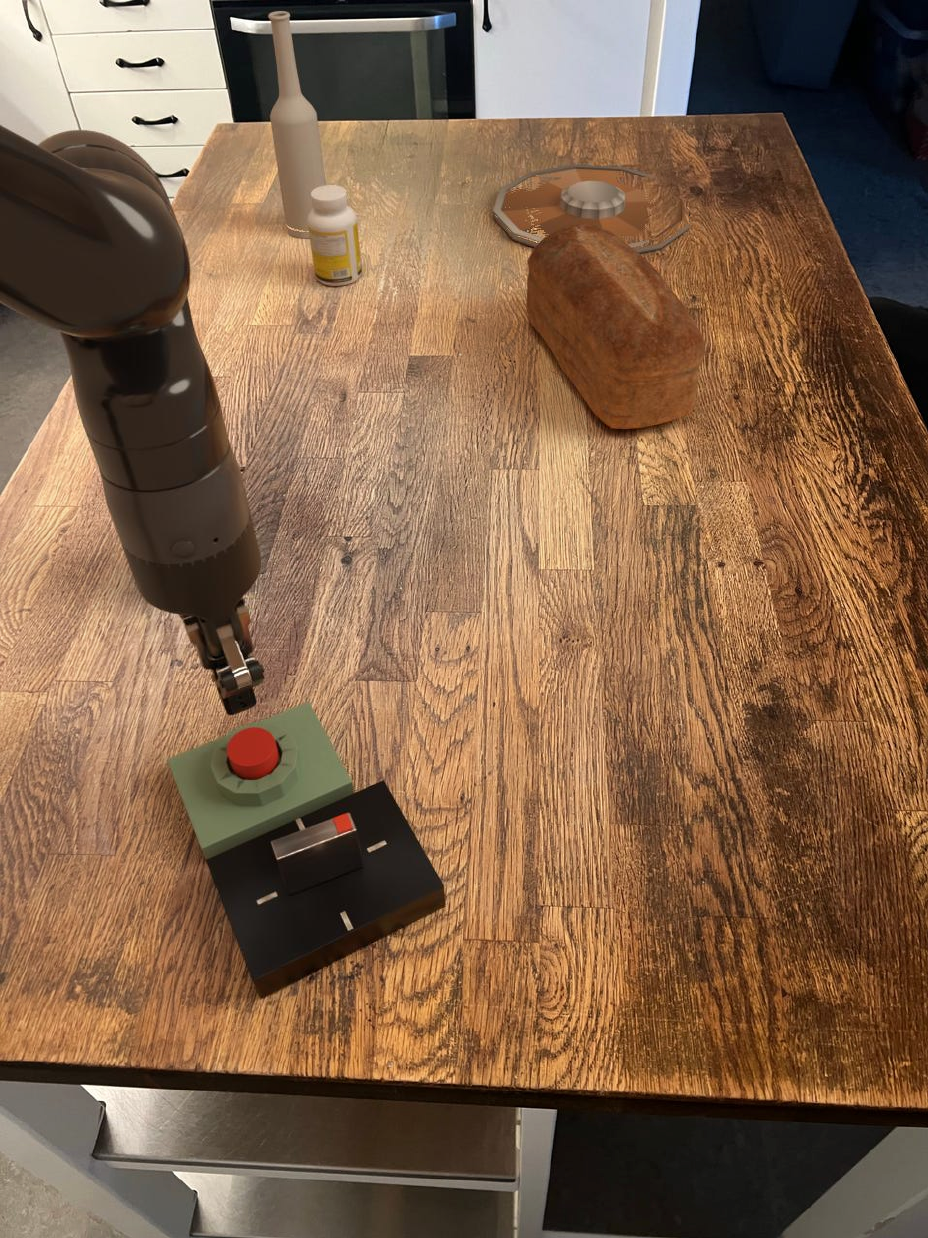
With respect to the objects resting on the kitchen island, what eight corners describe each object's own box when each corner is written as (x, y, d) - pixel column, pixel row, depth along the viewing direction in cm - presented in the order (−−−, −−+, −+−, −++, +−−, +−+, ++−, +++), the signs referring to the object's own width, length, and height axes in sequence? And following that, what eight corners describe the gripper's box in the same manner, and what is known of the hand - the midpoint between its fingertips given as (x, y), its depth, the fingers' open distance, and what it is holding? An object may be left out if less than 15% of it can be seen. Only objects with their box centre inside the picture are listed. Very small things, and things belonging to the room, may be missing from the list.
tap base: (260, 1000, 64) (252, 980, 62) (214, 880, 70) (204, 858, 68) (445, 906, 69) (444, 885, 66) (386, 801, 75) (383, 778, 73)
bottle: (278, 228, 144) (243, 13, 123) (313, 214, 147) (285, 3, 126) (304, 242, 140) (272, 24, 120) (340, 228, 143) (315, 13, 123)
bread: (606, 449, 105) (618, 338, 95) (514, 312, 125) (516, 210, 115) (707, 428, 107) (729, 318, 97) (600, 297, 128) (610, 195, 118)
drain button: (240, 787, 72) (235, 773, 70) (225, 752, 74) (220, 738, 73) (285, 767, 73) (282, 754, 72) (269, 733, 75) (265, 720, 74)
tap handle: (288, 896, 66) (276, 858, 62) (282, 878, 67) (270, 839, 63) (363, 867, 68) (356, 827, 64) (356, 849, 69) (349, 810, 65)
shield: (459, 215, 138) (535, 139, 156) (460, 237, 140) (535, 160, 159) (663, 253, 129) (717, 168, 148) (659, 276, 131) (714, 189, 150)
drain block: (207, 864, 71) (195, 836, 68) (173, 775, 77) (160, 745, 74) (355, 797, 75) (350, 768, 72) (312, 717, 81) (305, 686, 78)
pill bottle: (349, 261, 136) (340, 177, 127) (370, 279, 132) (362, 194, 124) (307, 273, 134) (295, 189, 125) (327, 292, 130) (316, 207, 121)
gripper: (284, 563, 52) (323, 750, 65) (211, 437, 61) (258, 625, 73) (149, 610, 50) (216, 795, 63) (92, 473, 58) (162, 661, 71)
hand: (239, 703), depth 68 cm, fingers closed
